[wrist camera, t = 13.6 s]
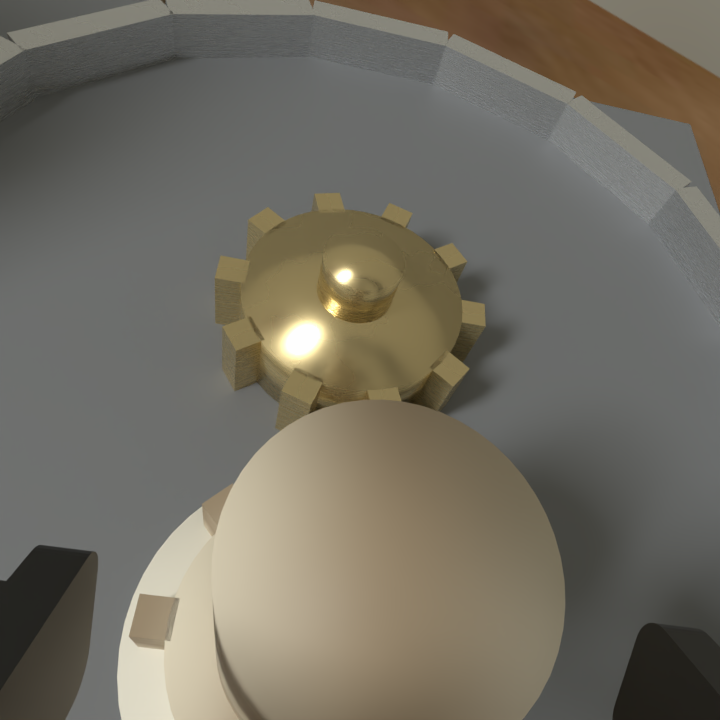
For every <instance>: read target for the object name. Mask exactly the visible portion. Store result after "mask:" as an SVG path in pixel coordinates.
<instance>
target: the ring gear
mask: <svg viewBox="0 0 720 720" xmlns="http://www.w3.org/2000/svg"><path fill="white" fill-rule="evenodd" d="M7 35H8V38H9V40H7V39H5V38H4V37H2V36H0V122H2V121H3V120H5V119H6V118H8V117H9V116H11V115H12V114H14V113H15V112H17V111H18V110H20V109H21V108H23V107H25V106H26V105H28V104H29V103H31V102H32V101H34V100H35V99H37V98H38V97H42V96H46V95H49V94H53V93H56V92H60V91H63V90H67V89H70V88H74V87H77V86H81V85H84V84H88V83H91V82H95V81H98V80H102V79H106V78H109V77H113V76H116V75H120V74H123V73H127V72H130V71H134V70H137V69H141V68H144V67H148V66H151V65H155V64H158V63H162V62H166V61H169V60H173V59H191V58H258V57H312V58H316V59H321V60H325V61H330V62H334V63H339V64H343V65H347V66H352V67H356V68H361V69H365V70H370V71H374V72H379V73H383V74H387V75H392V76H396V77H401V78H405V79H410V80H414V81H418V82H423V83H427V84H432V85H435V86H437V87H439V88H441V89H443V90H445V91H447V92H449V93H451V94H453V95H455V96H457V97H459V98H461V99H464V100H466V101H468V102H470V103H472V104H474V105H476V106H478V107H480V108H482V109H484V110H486V111H488V112H490V113H492V114H494V115H496V116H499V117H501V118H503V119H505V120H507V121H509V122H511V123H513V124H515V125H517V126H519V127H521V128H523V129H525V130H527V131H529V132H532V133H534V134H536V135H538V136H540V137H542V138H544V139H546V140H548V141H549V142H550V143H552V144H553V145H554V146H555V147H556V148H558V149H559V150H560V151H561V152H562V153H564V154H565V155H566V156H567V157H568V158H570V159H571V160H572V161H573V162H574V163H576V164H577V165H578V166H579V167H580V168H582V169H583V170H584V171H585V172H586V173H588V174H589V175H590V176H591V177H593V178H594V179H595V180H596V181H597V182H599V183H600V184H601V185H602V186H603V187H605V188H606V189H607V190H608V191H609V192H611V193H612V194H613V195H614V196H615V197H617V198H618V199H619V200H620V201H621V202H623V203H624V204H625V205H626V206H627V207H629V208H630V209H631V210H632V211H633V212H635V213H636V214H637V215H638V216H640V217H641V218H642V219H643V220H644V221H646V222H647V223H648V224H649V226H650V227H651V228H652V230H653V231H654V233H655V234H656V236H657V237H658V238H659V240H660V241H661V243H662V244H663V246H664V247H665V249H666V250H667V251H668V253H669V254H670V256H671V257H672V259H673V260H674V261H675V263H676V264H677V266H678V267H679V269H680V270H681V271H682V273H683V274H684V276H685V277H686V279H687V280H688V281H689V283H690V284H691V286H692V287H693V289H694V290H695V292H696V293H697V294H698V296H699V297H700V299H701V300H702V302H703V303H704V304H705V306H706V307H707V309H708V310H709V312H710V313H711V314H712V316H713V317H714V319H715V320H716V322H717V323H718V325H719V326H720V216H719V215H718V213H717V212H716V211H715V210H714V208H713V207H712V206H711V204H710V203H709V202H708V200H707V199H706V198H705V197H704V195H703V194H702V193H701V191H700V190H699V189H698V188H697V186H695V187H688V185H689V184H690V183H691V182H692V181H690V180H689V179H688V178H687V177H685V176H684V175H683V174H681V173H680V172H679V171H678V170H676V169H675V168H674V167H672V166H671V165H670V164H669V163H667V162H666V161H665V160H664V159H662V158H661V157H660V156H658V155H657V154H656V153H655V152H653V151H652V150H651V149H649V148H648V147H647V146H646V145H644V144H643V143H642V142H641V141H639V140H638V139H637V138H635V137H634V136H633V135H632V134H630V133H629V132H628V131H626V130H625V129H624V128H623V127H621V126H620V125H619V124H618V123H616V122H615V121H614V120H612V119H611V118H610V117H609V116H607V115H606V114H605V113H603V112H602V111H601V110H600V109H598V108H597V107H596V106H595V105H593V104H592V103H591V102H589V101H588V100H587V99H586V98H584V97H583V96H580V97H578V98H575V99H573V97H574V95H575V94H576V92H575V91H573V90H571V89H569V88H567V87H564V86H562V85H560V84H558V83H556V82H554V81H552V80H550V79H548V78H545V77H543V76H541V75H539V74H537V73H535V72H533V71H531V70H529V69H527V68H524V67H522V66H520V65H518V64H516V63H514V62H512V61H510V60H508V59H505V58H503V57H501V56H499V55H497V54H495V53H493V52H491V51H489V50H487V49H484V48H482V47H480V46H478V45H476V44H474V43H472V42H470V41H468V40H465V39H463V38H461V37H459V36H457V35H455V34H453V36H452V37H451V38H450V39H449V40H448V32H446V31H442V30H438V29H434V28H429V27H425V26H421V25H417V24H412V23H408V22H404V21H400V20H396V19H391V18H387V17H383V16H379V15H374V14H370V13H366V12H362V11H358V10H353V9H349V8H345V7H341V6H336V5H332V4H328V3H324V2H320V1H315V2H314V7H313V8H312V6H311V4H310V2H309V0H166V5H165V4H164V3H163V2H162V1H161V0H148V1H144V2H139V3H135V4H130V5H126V6H122V7H117V8H113V9H109V10H104V11H100V12H95V13H91V14H87V15H82V16H78V17H74V18H69V19H65V20H60V21H56V22H52V23H47V24H43V25H38V26H34V27H30V28H25V29H21V30H17V31H12V32H8V33H7ZM572 99H573V100H572Z"/></svg>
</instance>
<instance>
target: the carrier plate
mask: <svg viewBox="0 0 720 720" xmlns="http://www.w3.org/2000/svg"><path fill="white" fill-rule="evenodd" d="M144 1H148V0H0V36H2V37H4V38H5V39H7V40H9V38H8V35H7V33H8V32H12V31H17V30H21V29H25V28H30V27H34V26H38V25H43V24H47V23H52V22H56V21H60V20H65V19H69V18H74V17H78V16H82V15H87V14H91V13H95V12H100V11H104V10H109V9H113V8H117V7H122V6H126V5H130V4H135V3H139V2H144ZM165 5H166V4H165ZM573 99H575V98H573ZM573 99H572V100H573ZM589 102H590V101H589ZM591 103H592V104H593V105H595V106H596V107H597V108H598V109H600V110H601V111H602V112H603V113H605V114H606V115H607V116H609V117H610V118H611V119H612V120H614V121H615V122H616V123H618V124H619V125H620V126H621V127H623V128H624V129H625V130H626V131H628V132H629V133H630V134H632V135H633V136H634V137H635V138H637V139H638V140H639V141H641V142H642V143H643V144H644V145H646V146H647V147H648V148H649V149H651V150H652V151H653V152H655V153H656V154H657V155H658V156H660V157H661V158H662V159H664V160H665V161H666V162H667V163H669V164H670V165H671V166H672V167H674V168H675V169H676V170H678V171H679V172H680V173H681V174H683V175H684V176H685V177H687V178H688V179H689V180H690V181H692V182H691V183H690V184H689V185H688V187H695V186H697V188H698V189H699V190H700V191H701V193H702V194H703V195H704V197H705V198H706V199H707V200H708V202H709V203H710V204H711V206H712V207H713V208H714V210H715V211H716V212H717V213H718V215H719V216H720V213H719V210H718V207H717V204H716V201H715V198H714V195H713V192H712V189H711V186H710V183H709V180H708V177H707V174H706V171H705V168H704V165H703V162H702V159H701V156H700V153H699V150H698V147H697V144H696V141H695V138H694V135H693V132H692V129H691V126H690V124H686V123H682V122H678V121H673V120H669V119H665V118H660V117H656V116H651V115H647V114H643V113H638V112H634V111H630V110H625V109H621V108H617V107H612V106H608V105H603V104H599V103H595V102H591ZM318 193H340V196H341V199H342V202H343V206H344V209H346V210H355V211H362V212H367V213H371V214H375V215H378V216H382V214H383V213H384V211H385V209H386V207H387V206H388V204H389V203H391V204H393V205H395V206H398V207H400V208H402V209H404V210H407V211H409V212H411V213H413V214H412V216H411V219H410V222H409V225H408V227H407V229H409V230H411V231H413V232H414V233H415V234H417V235H418V236H420V237H421V238H422V239H424V240H425V241H426V242H427V243H428V244H429V245H430V246H432V247H433V248H434V249H437V248H439V247H442V246H445V245H448V244H450V243H453V244H454V246H455V247H456V248H457V249H458V251H459V252H460V253H461V254H462V256H463V257H464V258H465V259H466V261H467V263H466V265H465V267H464V269H463V271H462V273H461V275H460V277H459V279H458V281H457V285H458V288H459V291H460V295H461V299H462V300H466V301H471V302H477V303H482V304H485V324H486V327H485V328H484V330H483V331H482V333H481V334H480V336H479V338H478V339H477V341H476V342H475V344H474V345H473V347H472V349H471V350H470V352H469V353H468V355H467V356H466V358H465V360H464V361H463V364H465V365H466V366H467V367H468V368H470V369H469V371H468V372H467V374H466V375H465V377H464V378H463V380H462V381H461V383H460V384H459V386H458V387H457V389H456V390H455V392H454V393H453V395H452V396H451V398H450V399H449V401H448V402H447V404H446V405H445V406H444V407H443V409H442V410H441V411H440V412H442V413H444V414H446V415H448V416H450V417H452V418H454V419H456V420H458V421H460V422H462V423H464V424H465V425H467V426H469V427H470V428H472V429H473V430H475V431H477V432H478V433H479V434H481V435H482V436H483V437H485V438H486V439H487V440H488V441H490V442H491V443H492V444H494V445H495V446H496V447H497V448H498V449H499V450H500V451H501V452H502V453H503V454H504V455H505V456H506V457H507V458H508V459H509V460H510V461H511V462H512V463H513V464H514V466H515V467H516V468H517V469H518V470H519V471H520V473H521V474H522V475H523V476H524V478H525V479H526V481H527V482H528V484H529V485H530V487H531V488H532V490H533V491H534V493H535V494H536V496H537V498H538V500H539V501H540V503H541V505H542V507H543V509H544V511H545V513H546V515H547V517H548V520H549V522H550V525H551V527H552V530H553V532H554V535H555V538H556V542H557V545H558V549H559V553H560V556H561V562H562V568H563V574H564V581H565V616H564V628H563V633H562V638H561V643H560V647H559V652H558V655H557V658H556V661H555V664H554V666H553V669H552V672H551V675H550V677H549V679H548V681H547V683H546V685H545V687H544V688H543V690H542V692H541V694H540V696H539V698H538V699H537V701H536V702H535V703H534V705H533V706H532V708H531V709H530V710H529V712H528V713H527V715H526V716H525V717H524V718H523V719H522V720H612V719H613V710H614V706H615V702H616V699H617V696H618V693H619V690H620V687H621V684H622V681H623V678H624V675H625V672H626V668H627V665H628V662H629V659H630V656H631V653H632V650H633V647H634V644H635V641H636V638H637V635H638V633H639V631H640V629H641V628H642V627H643V626H644V625H646V624H648V623H659V624H667V625H675V626H683V627H691V628H698V629H701V630H703V631H704V632H706V633H707V634H708V635H709V636H710V637H711V638H712V639H713V640H714V641H715V642H716V643H717V644H718V646H719V647H720V326H719V325H718V323H717V322H716V320H715V319H714V317H713V316H712V314H711V313H710V312H709V310H708V309H707V307H706V306H705V304H704V303H703V302H702V300H701V299H700V297H699V296H698V294H697V293H696V292H695V290H694V289H693V287H692V286H691V284H690V283H689V281H688V280H687V279H686V277H685V276H684V274H683V273H682V271H681V270H680V269H679V267H678V266H677V264H676V263H675V261H674V260H673V259H672V257H671V256H670V254H669V253H668V251H667V250H666V249H665V247H664V246H663V244H662V243H661V241H660V240H659V238H658V237H657V236H656V234H655V233H654V231H653V230H652V228H651V227H650V226H649V224H648V223H647V222H646V221H644V220H643V219H642V218H641V217H640V216H638V215H637V214H636V213H635V212H633V211H632V210H631V209H630V208H629V207H627V206H626V205H625V204H624V203H623V202H621V201H620V200H619V199H618V198H617V197H615V196H614V195H613V194H612V193H611V192H609V191H608V190H607V189H606V188H605V187H603V186H602V185H601V184H600V183H599V182H597V181H596V180H595V179H594V178H593V177H591V176H590V175H589V174H588V173H586V172H585V171H584V170H583V169H582V168H580V167H579V166H578V165H577V164H576V163H574V162H573V161H572V160H571V159H570V158H568V157H567V156H566V155H565V154H564V153H562V152H561V151H560V150H559V149H558V148H556V147H555V146H554V145H553V144H552V143H550V142H549V141H548V140H546V139H544V138H542V137H540V136H538V135H536V134H534V133H532V132H529V131H527V130H525V129H523V128H521V127H519V126H517V125H515V124H513V123H511V122H509V121H507V120H505V119H503V118H501V117H499V116H496V115H494V114H492V113H490V112H488V111H486V110H484V109H482V108H480V107H478V106H476V105H474V104H472V103H470V102H468V101H466V100H464V99H461V98H459V97H457V96H455V95H453V94H451V93H449V92H447V91H445V90H443V89H441V88H439V87H437V86H435V85H432V84H427V83H423V82H418V81H414V80H410V79H405V78H401V77H396V76H392V75H387V74H383V73H379V72H374V71H370V70H365V69H361V68H356V67H352V66H347V65H343V64H339V63H334V62H330V61H325V60H321V59H316V58H312V57H258V58H191V59H173V60H169V61H166V62H162V63H158V64H155V65H151V66H148V67H144V68H141V69H137V70H134V71H130V72H127V73H123V74H120V75H116V76H113V77H109V78H106V79H102V80H98V81H95V82H91V83H88V84H84V85H81V86H77V87H74V88H70V89H67V90H63V91H60V92H56V93H53V94H49V95H46V96H42V97H38V98H37V99H35V100H34V101H32V102H31V103H29V104H28V105H26V106H25V107H23V108H21V109H20V110H18V111H17V112H15V113H14V114H12V115H11V116H9V117H8V118H6V119H5V120H3V121H2V122H0V580H3V581H7V579H8V578H9V577H10V576H11V575H12V574H13V572H14V571H15V570H16V569H17V568H18V566H19V565H20V564H21V563H22V562H23V560H24V559H25V558H26V557H27V556H28V554H29V553H30V552H31V551H32V550H33V549H34V548H35V547H36V546H38V545H47V546H55V547H63V548H71V549H79V550H87V551H94V552H96V553H97V555H98V573H97V582H96V592H95V601H94V611H93V620H92V629H91V639H90V648H89V655H88V660H87V664H86V668H85V672H84V676H83V679H82V682H81V686H80V688H79V691H78V694H77V696H76V699H75V701H74V703H73V705H72V707H71V709H70V711H69V713H68V715H67V717H66V719H65V720H174V717H173V715H172V712H171V708H170V704H169V699H168V695H167V690H166V683H165V672H164V650H161V649H152V648H143V647H137V645H136V644H135V643H134V642H133V641H132V640H131V639H130V637H129V633H130V629H131V625H132V621H133V617H134V614H135V610H136V606H137V602H138V598H139V594H147V595H156V596H164V597H173V598H175V595H176V593H177V591H178V588H179V586H180V584H181V581H182V579H183V577H184V575H185V573H186V572H187V570H188V568H189V567H190V565H191V563H192V561H193V560H194V558H195V557H196V556H197V554H198V553H199V552H200V550H201V549H202V548H203V546H204V545H205V544H206V543H207V542H208V541H209V540H210V539H211V538H212V536H211V535H210V533H209V532H208V531H207V529H206V528H205V526H204V524H203V512H202V503H204V502H205V501H207V500H208V499H210V498H211V497H213V496H214V495H216V494H217V493H219V492H220V491H222V490H223V489H225V488H226V487H228V486H229V485H231V484H232V483H233V485H234V483H235V482H236V480H237V478H238V477H239V475H240V473H241V471H242V470H243V469H244V467H245V466H246V465H247V464H248V462H249V461H250V460H251V458H252V457H253V456H254V455H255V453H256V452H257V451H258V450H259V449H260V448H261V447H262V446H263V445H264V444H265V443H266V442H267V441H268V440H269V439H270V438H272V437H273V436H274V435H276V434H277V433H278V432H280V430H278V429H276V428H275V425H276V420H277V414H278V408H279V403H278V402H277V401H275V400H274V399H273V398H272V397H271V396H269V395H268V394H267V393H266V392H265V391H264V390H263V389H262V387H261V386H260V385H259V384H258V383H257V382H256V383H254V384H251V385H249V386H246V387H244V388H242V389H239V390H237V391H234V390H233V388H232V386H231V384H230V382H229V381H228V379H227V377H226V375H225V373H224V372H223V370H222V326H225V325H222V324H216V323H215V275H216V271H217V267H218V263H219V260H220V256H226V257H232V258H237V259H243V260H246V250H247V230H248V219H250V218H251V217H253V216H255V215H256V214H258V213H259V212H261V211H262V210H264V209H265V208H267V207H269V208H270V209H271V210H272V211H274V212H275V213H276V214H277V215H279V216H280V217H281V218H282V219H284V220H287V219H289V218H292V217H294V216H297V215H300V214H303V213H307V212H311V210H312V204H313V199H314V194H318Z"/></svg>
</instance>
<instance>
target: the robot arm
mask: <svg viewBox="0 0 720 720" xmlns="http://www.w3.org/2000/svg"><path fill="white" fill-rule="evenodd" d="M97 573H98V555H97V553H96V552H94V551H87V550H79V549H71V548H63V547H55V546H47V545H38V546H36V547H35V548H34V549H33V550H32V551H31V552H30V553H29V554H28V556H27V557H26V558H25V559H24V560H23V562H22V563H21V564H20V565H19V566H18V568H17V569H16V570H15V571H14V572H13V574H12V575H11V576H10V577H9V578H8V579H7V581H3V580H0V720H65V719H66V717H67V715H68V713H69V711H70V709H71V707H72V705H73V703H74V701H75V699H76V696H77V694H78V691H79V688H80V686H81V682H82V679H83V676H84V672H85V668H86V664H87V660H88V655H89V648H90V639H91V629H92V620H93V611H94V601H95V592H96V582H97ZM612 720H720V647H719V646H718V644H717V643H716V642H715V641H714V640H713V639H712V638H711V637H710V636H709V635H708V634H707V633H706V632H704V631H703V630H701V629H698V628H691V627H683V626H675V625H667V624H659V623H648V624H646V625H644V626H643V627H642V628H641V629H640V631H639V633H638V635H637V638H636V641H635V644H634V647H633V650H632V653H631V656H630V659H629V662H628V665H627V668H626V672H625V675H624V678H623V681H622V684H621V687H620V690H619V693H618V696H617V699H616V702H615V706H614V710H613V719H612Z"/></svg>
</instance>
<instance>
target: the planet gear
mask: <svg viewBox="0 0 720 720" xmlns="http://www.w3.org/2000/svg"><path fill="white" fill-rule="evenodd" d="M202 512H203V524H204V526H205V528H206V529H207V531H208V532H209V533H210V535H211V536H212V538H211V539H210V540H209V541H208V542H207V543H206V544H205V545H204V546H203V548H202V549H201V550H200V552H199V553H198V554H197V556H196V557H195V558H194V560H193V561H192V563H191V565H190V567H189V568H188V570H187V572H186V573H185V575H184V577H183V579H182V581H181V584H180V586H179V588H178V591H177V593H176V595H175V598H173V597H164V596H156V595H147V594H139V598H138V602H137V606H136V610H135V614H134V617H133V621H132V625H131V629H130V633H129V637H130V639H131V640H132V641H133V642H134V643H135V644H136V645H137V647H143V648H152V649H161V650H164V672H165V683H166V690H167V695H168V699H169V704H170V708H171V712H172V715H173V717H174V720H522V719H523V718H524V717H525V716H526V715H527V713H528V712H529V710H530V709H531V708H532V706H533V705H534V703H535V702H536V701H537V699H538V698H539V696H540V694H541V692H542V690H543V688H544V687H545V685H546V683H547V681H548V679H549V677H550V675H551V672H552V669H553V666H554V664H555V661H556V658H557V655H558V652H559V647H560V643H561V638H562V633H563V628H564V616H565V581H564V574H563V568H562V562H561V556H560V553H559V549H558V545H557V542H556V538H555V535H554V532H553V530H552V527H551V525H550V522H549V520H548V517H547V515H546V513H545V511H544V509H543V507H542V505H541V503H540V501H539V500H538V498H537V496H536V494H535V493H534V491H533V490H532V488H531V487H530V485H529V484H528V482H527V481H526V479H525V478H524V476H523V475H522V474H521V473H520V471H519V470H518V469H517V468H516V467H515V466H514V464H513V463H512V462H511V461H510V460H509V459H508V458H507V457H506V456H505V455H504V454H503V453H502V452H501V451H500V450H499V449H498V448H497V447H496V446H495V445H494V444H492V443H491V442H490V441H488V440H487V439H486V438H485V437H483V436H482V435H481V434H479V433H478V432H477V431H475V430H473V429H472V428H470V427H469V426H467V425H465V424H464V423H462V422H460V421H458V420H456V419H454V418H452V417H450V416H448V415H446V414H444V413H442V412H439V411H436V410H433V409H430V408H427V407H424V406H421V405H416V404H412V403H407V402H402V401H392V400H359V401H351V402H344V403H340V404H336V405H333V406H329V407H325V408H322V409H320V410H317V411H315V412H313V413H310V414H308V415H305V416H304V417H302V418H300V419H298V420H296V421H295V422H293V423H291V424H289V425H288V426H286V427H285V428H284V429H282V430H281V431H280V432H278V433H277V434H276V435H274V436H273V437H272V438H270V439H269V440H268V441H267V442H266V443H265V444H264V445H263V446H262V447H261V448H260V449H259V450H258V451H257V452H256V453H255V455H254V456H253V457H252V458H251V460H250V461H249V462H248V464H247V465H246V466H245V467H244V469H243V470H242V471H241V473H240V475H239V477H238V478H237V480H236V482H235V483H234V485H233V483H232V484H231V485H229V486H228V487H226V488H225V489H223V490H222V491H220V492H219V493H217V494H216V495H214V496H213V497H211V498H210V499H208V500H207V501H205V502H204V503H202Z"/></svg>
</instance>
